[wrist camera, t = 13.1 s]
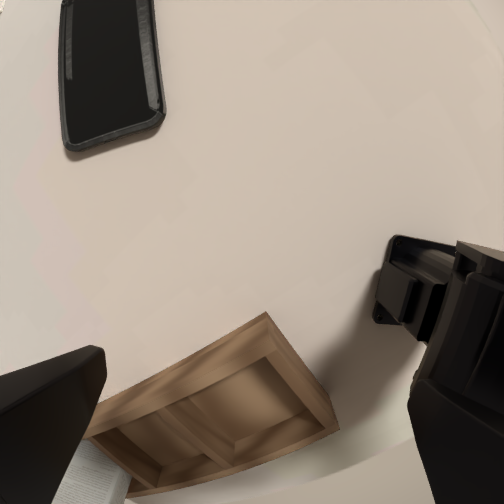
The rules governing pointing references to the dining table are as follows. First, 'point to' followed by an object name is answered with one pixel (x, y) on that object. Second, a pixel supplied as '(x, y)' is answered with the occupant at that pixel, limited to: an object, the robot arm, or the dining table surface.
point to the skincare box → (92, 479)
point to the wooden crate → (214, 413)
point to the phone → (108, 71)
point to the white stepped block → (1, 5)
